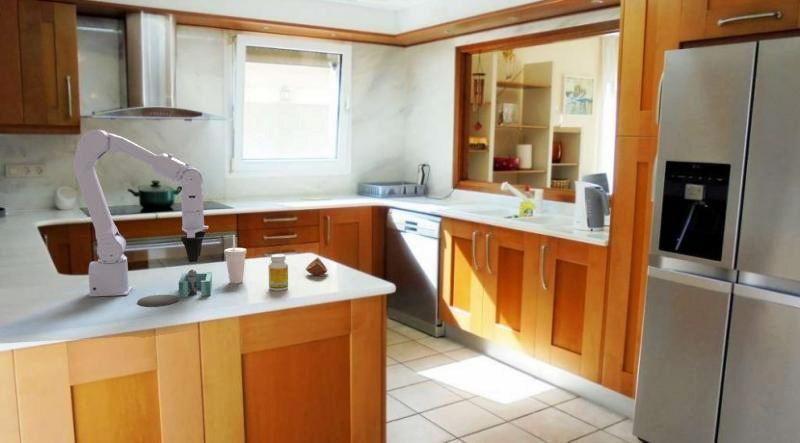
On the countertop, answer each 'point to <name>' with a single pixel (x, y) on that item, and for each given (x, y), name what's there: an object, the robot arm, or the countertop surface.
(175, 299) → the coaster
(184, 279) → the c link
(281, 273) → the supplement bottle
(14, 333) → the countertop surface
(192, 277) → the cylinder
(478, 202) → the countertop surface
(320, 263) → the brown wedge block
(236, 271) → the smoothie
